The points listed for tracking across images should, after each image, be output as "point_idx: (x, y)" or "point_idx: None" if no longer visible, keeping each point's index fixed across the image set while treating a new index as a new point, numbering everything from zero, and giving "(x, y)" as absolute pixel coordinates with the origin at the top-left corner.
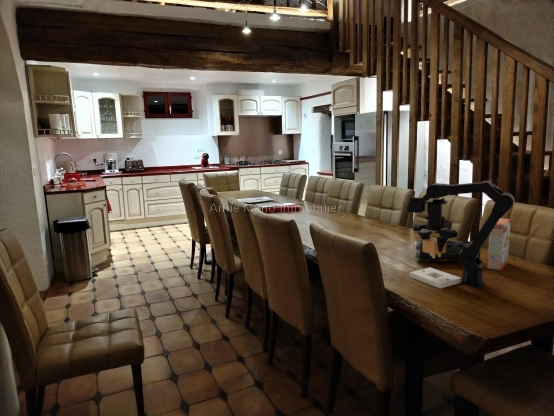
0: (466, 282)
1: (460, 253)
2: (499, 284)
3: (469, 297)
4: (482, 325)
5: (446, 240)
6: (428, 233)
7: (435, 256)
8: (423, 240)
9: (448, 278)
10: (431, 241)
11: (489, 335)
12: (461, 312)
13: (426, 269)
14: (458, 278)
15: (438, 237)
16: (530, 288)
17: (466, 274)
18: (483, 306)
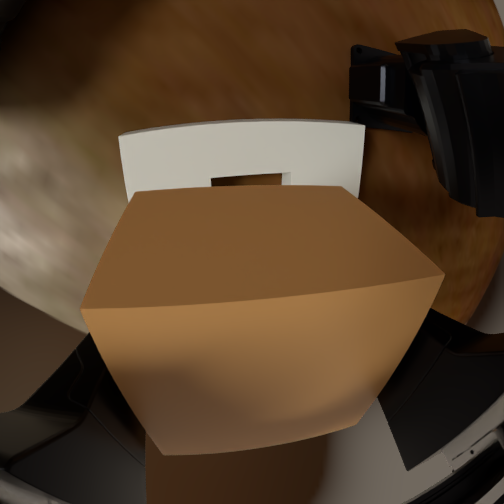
0: (381, 122)
1: (491, 214)
2: (434, 28)
3: (429, 227)
4: (464, 305)
5: (479, 342)
6: (92, 488)
7: (18, 8)
8: (178, 450)
9: None
10: (295, 432)
11: (471, 315)
12: (433, 307)
13: (145, 186)
14: (362, 145)
15: (428, 458)
16: (479, 13)
17: (406, 129)
18: (461, 243)
